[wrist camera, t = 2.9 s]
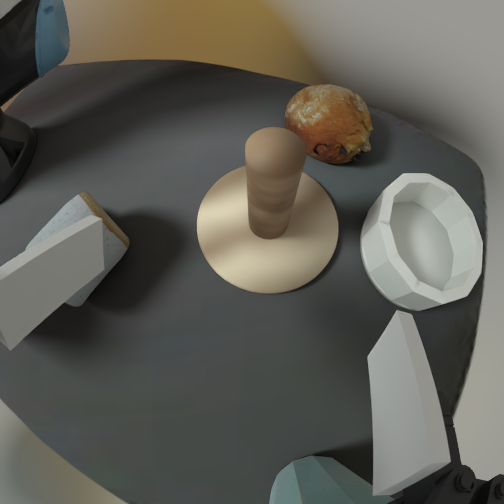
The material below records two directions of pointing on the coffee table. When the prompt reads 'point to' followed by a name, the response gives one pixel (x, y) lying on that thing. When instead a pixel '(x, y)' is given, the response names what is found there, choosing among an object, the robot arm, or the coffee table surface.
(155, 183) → the coffee table surface
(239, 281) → the lid
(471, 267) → the bowl
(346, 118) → the bread roll
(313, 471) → the disposable coffee cup
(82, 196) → the ceramic mug
